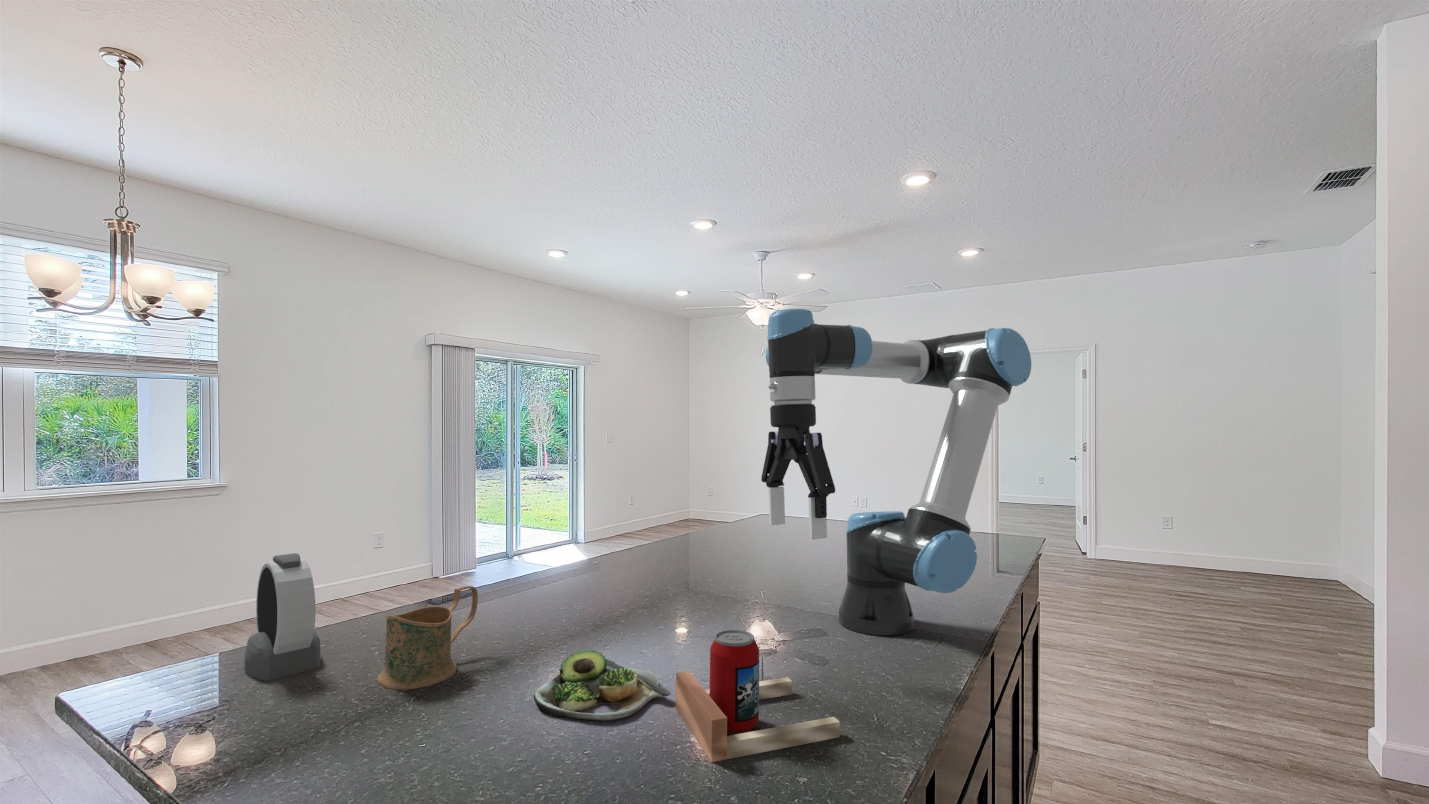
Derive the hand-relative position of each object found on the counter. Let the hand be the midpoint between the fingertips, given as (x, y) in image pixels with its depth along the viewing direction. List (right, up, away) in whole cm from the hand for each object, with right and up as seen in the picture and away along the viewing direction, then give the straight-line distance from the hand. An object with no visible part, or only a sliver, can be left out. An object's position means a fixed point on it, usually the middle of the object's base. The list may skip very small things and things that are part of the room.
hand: (796, 531), depth 101 cm
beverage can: (-11, -23, -18) cm, 31 cm away
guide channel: (-8, -23, -17) cm, 30 cm away
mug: (-61, -23, +1) cm, 65 cm away
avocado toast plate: (-31, -23, -9) cm, 40 cm away
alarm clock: (-87, -23, +2) cm, 90 cm away
